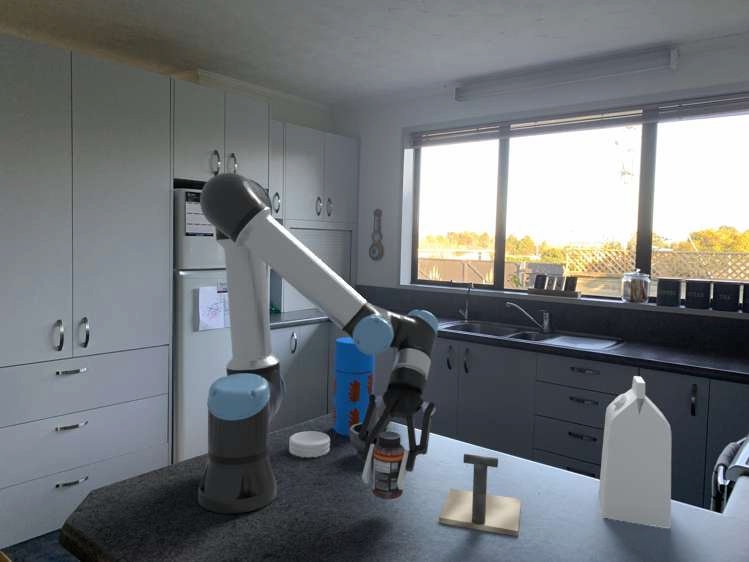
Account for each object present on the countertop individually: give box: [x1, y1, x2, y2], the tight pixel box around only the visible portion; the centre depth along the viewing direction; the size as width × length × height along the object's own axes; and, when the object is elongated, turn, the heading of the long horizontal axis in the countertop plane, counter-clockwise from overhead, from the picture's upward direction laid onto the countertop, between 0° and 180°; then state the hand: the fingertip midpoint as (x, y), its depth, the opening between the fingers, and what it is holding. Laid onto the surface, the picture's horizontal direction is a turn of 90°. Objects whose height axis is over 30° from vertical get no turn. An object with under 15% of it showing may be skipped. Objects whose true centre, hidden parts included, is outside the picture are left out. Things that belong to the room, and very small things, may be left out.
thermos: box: [333, 336, 376, 437], centre depth 150 cm, size 11×11×25 cm
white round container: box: [288, 430, 331, 459], centre depth 135 cm, size 10×10×4 cm
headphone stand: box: [438, 453, 522, 537], centre depth 104 cm, size 14×13×13 cm
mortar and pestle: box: [349, 406, 391, 462], centre depth 132 cm, size 11×9×12 cm
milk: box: [598, 375, 672, 528], centre depth 107 cm, size 12×12×26 cm
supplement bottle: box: [371, 430, 406, 500], centre depth 103 cm, size 6×6×11 cm
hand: (382, 483), depth 99 cm, fingers closed on supplement bottle, 6 cm apart
